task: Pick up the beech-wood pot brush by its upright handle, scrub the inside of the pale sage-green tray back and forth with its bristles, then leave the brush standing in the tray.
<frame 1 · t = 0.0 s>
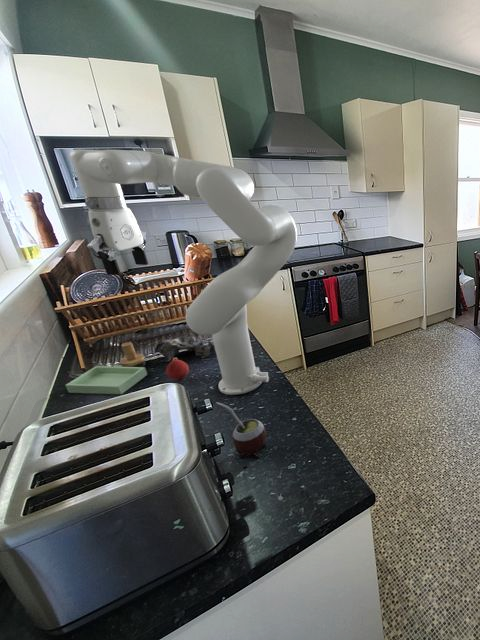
hand: (128, 269, 94), 37 cm above the counter, tool pointing down, fingers open, 9 cm apart
foil: (191, 355, 124), on the counter
tray: (110, 383, 108), on the counter
onion: (180, 380, 111), on the counter
brush: (134, 366, 117), on the counter
mate gourd: (251, 452, 85), on the counter
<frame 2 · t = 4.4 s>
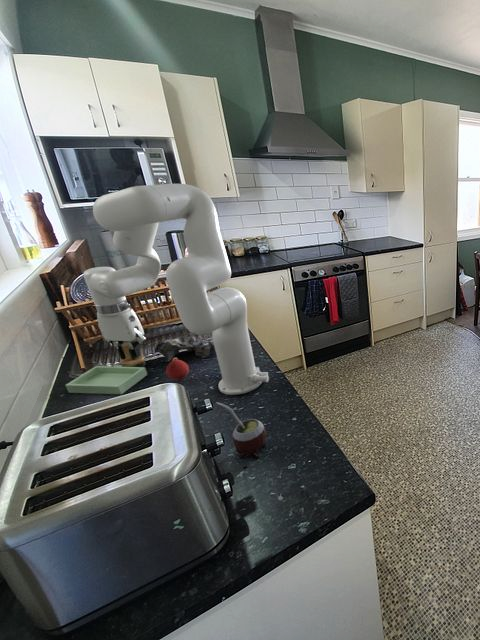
hand: (131, 357, 115), 4 cm above the counter, tool pointing down, fingers closed on brush, 2 cm apart
brush: (134, 366, 117), on the counter, touching gripper
everything else where it was.
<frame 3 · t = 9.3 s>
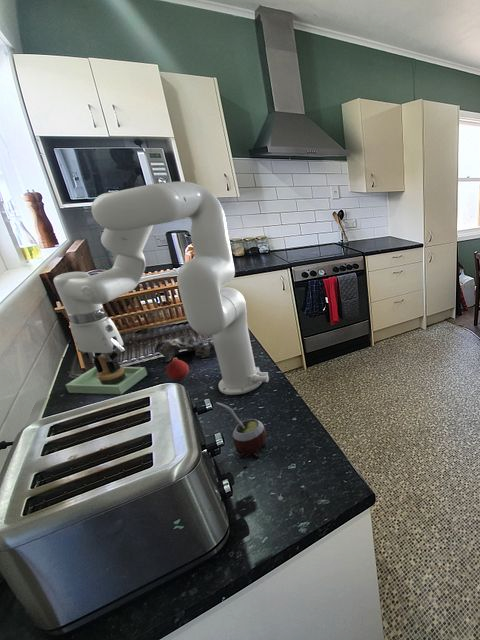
hand: (109, 370, 106), 5 cm above the counter, tool pointing down, fingers closed on brush, 2 cm apart
brush: (113, 379, 107), point 1 cm above the counter, touching gripper
everything else where it was.
when the fingers open (4 cm above the counter, at t = 14.3 s): brush stays where it is, resting on tray.
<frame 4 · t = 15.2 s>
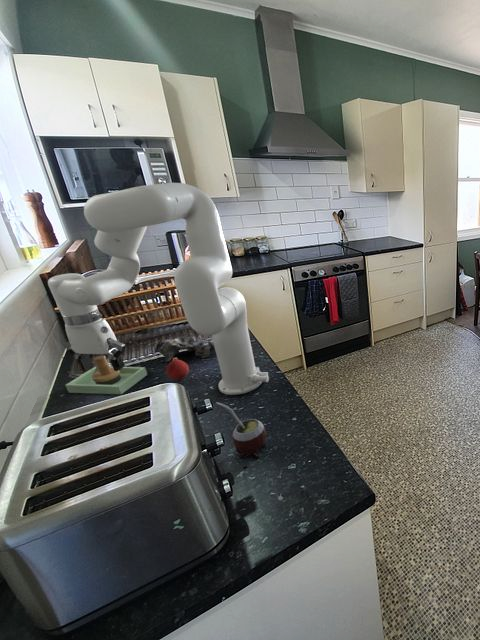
hand: (104, 368, 105), 6 cm above the counter, tool pointing down, fingers open, 9 cm apart
brush: (108, 381, 107), point 1 cm above the counter, touching tray
everything else where it was.
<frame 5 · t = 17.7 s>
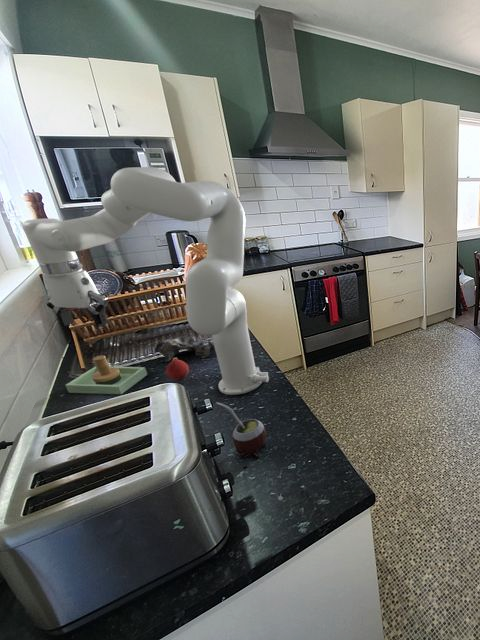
hand: (85, 324, 99), 20 cm above the counter, tool pointing down, fingers open, 9 cm apart
nothing on the counter moved.
at the end: brush inside the target area in the tray (0.1 cm from its centre), point 0.8 cm above the tray's base; brush tilted 0°; the gripper is holding nothing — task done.
